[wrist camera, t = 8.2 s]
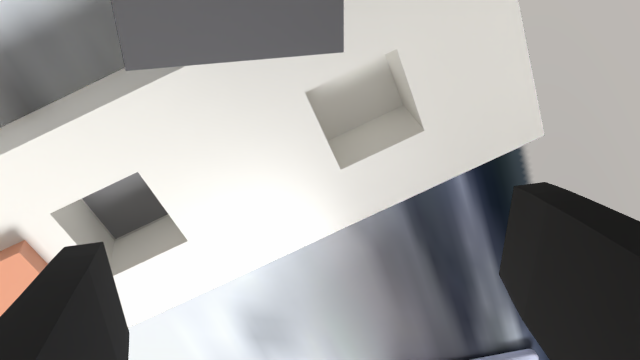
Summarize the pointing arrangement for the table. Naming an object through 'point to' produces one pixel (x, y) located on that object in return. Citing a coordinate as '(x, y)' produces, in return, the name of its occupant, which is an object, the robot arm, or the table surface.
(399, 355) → the table surface
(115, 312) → the robot arm
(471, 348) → the table surface
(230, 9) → the block
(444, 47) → the power strip
